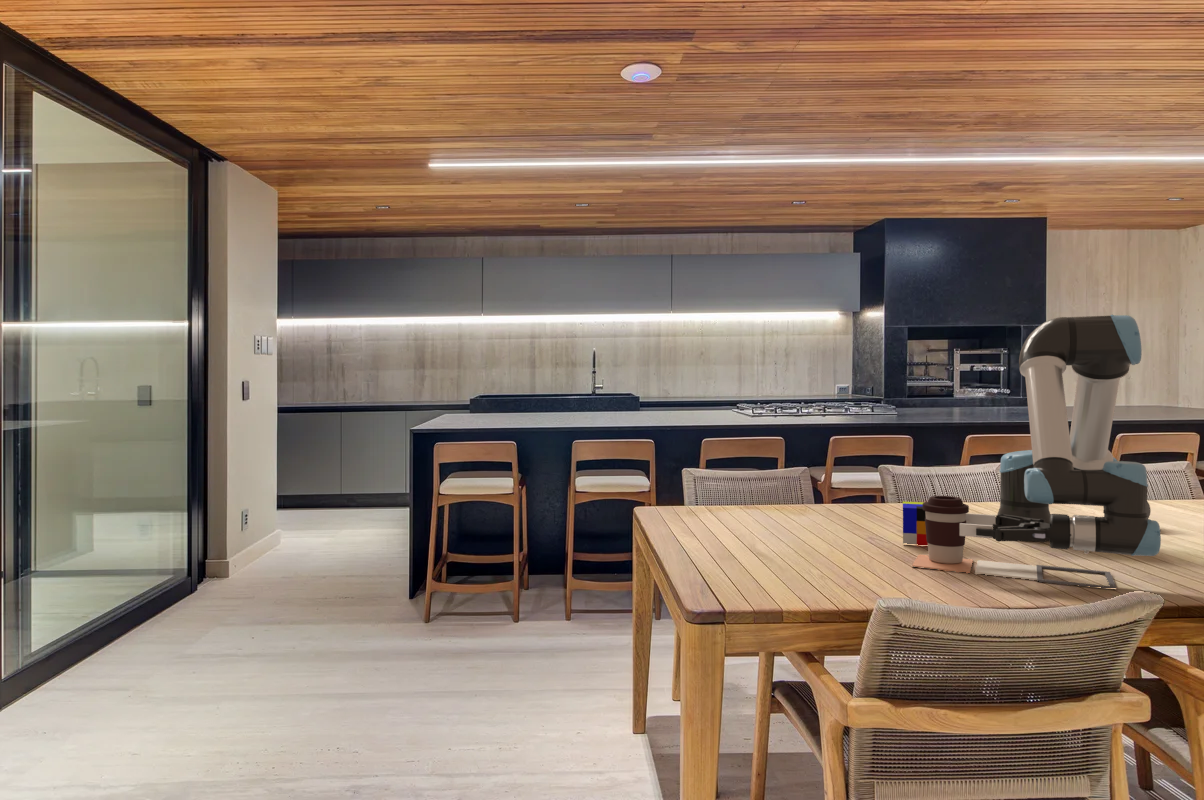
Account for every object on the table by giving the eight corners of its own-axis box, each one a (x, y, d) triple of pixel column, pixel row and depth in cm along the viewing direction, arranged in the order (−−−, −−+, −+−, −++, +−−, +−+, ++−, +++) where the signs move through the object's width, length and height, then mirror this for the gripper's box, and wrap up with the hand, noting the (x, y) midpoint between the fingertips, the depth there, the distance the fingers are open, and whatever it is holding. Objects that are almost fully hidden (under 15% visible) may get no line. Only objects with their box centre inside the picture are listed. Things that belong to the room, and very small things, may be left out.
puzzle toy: (903, 545, 194) (902, 507, 193) (902, 537, 203) (902, 501, 202) (944, 548, 190) (944, 509, 189) (942, 540, 199) (942, 503, 199)
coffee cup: (923, 564, 172) (923, 499, 172) (921, 554, 181) (921, 493, 181) (970, 567, 168) (970, 501, 168) (966, 557, 177) (966, 495, 177)
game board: (911, 568, 170) (911, 566, 170) (919, 555, 182) (919, 553, 182) (1116, 590, 151) (1116, 588, 151) (1109, 574, 163) (1109, 571, 163)
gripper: (1073, 562, 149) (957, 551, 160) (1068, 538, 171) (966, 530, 182) (1073, 525, 149) (957, 517, 160) (1068, 506, 171) (966, 499, 181)
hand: (962, 523), depth 171 cm, fingers open, 13 cm apart
